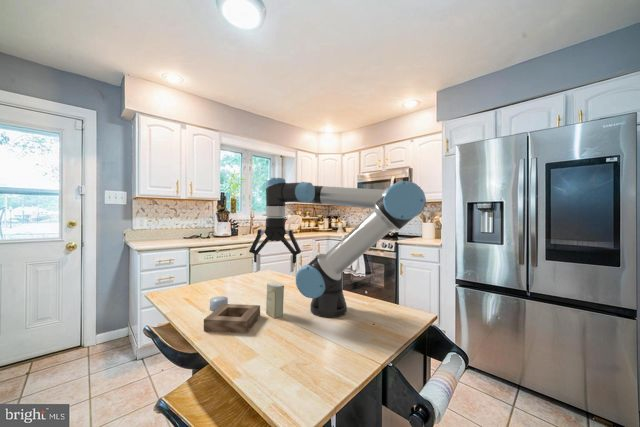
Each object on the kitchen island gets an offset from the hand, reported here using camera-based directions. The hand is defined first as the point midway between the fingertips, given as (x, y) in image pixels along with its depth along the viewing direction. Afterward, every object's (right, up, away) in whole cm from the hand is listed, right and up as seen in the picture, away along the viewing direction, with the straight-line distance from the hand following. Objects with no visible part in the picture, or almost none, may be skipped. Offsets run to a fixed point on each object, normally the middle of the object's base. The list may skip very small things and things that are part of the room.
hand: (275, 271), depth 105 cm
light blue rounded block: (-25, -17, +6) cm, 31 cm away
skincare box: (0, -18, 0) cm, 18 cm away
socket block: (-14, -17, -8) cm, 24 cm away
